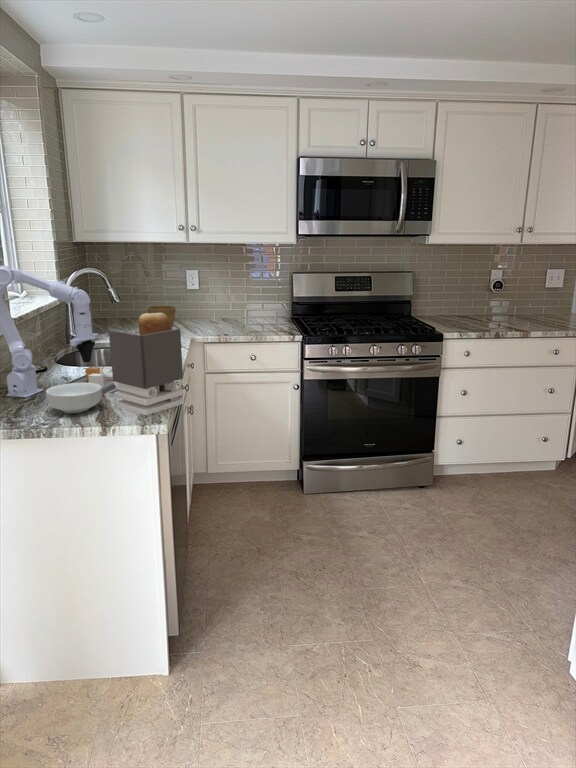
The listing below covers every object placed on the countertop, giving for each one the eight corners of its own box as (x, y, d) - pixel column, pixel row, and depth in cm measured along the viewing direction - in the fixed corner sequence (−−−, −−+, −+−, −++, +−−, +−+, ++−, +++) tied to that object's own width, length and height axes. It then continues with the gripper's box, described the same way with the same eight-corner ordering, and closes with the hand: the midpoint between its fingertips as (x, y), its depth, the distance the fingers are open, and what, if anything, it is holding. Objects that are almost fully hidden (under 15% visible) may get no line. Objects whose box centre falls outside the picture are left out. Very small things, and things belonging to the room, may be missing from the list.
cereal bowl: (110, 411, 179) (108, 390, 178) (55, 421, 170) (53, 398, 168) (94, 399, 193) (92, 379, 191) (42, 407, 183) (40, 386, 182)
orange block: (96, 381, 208) (95, 369, 207) (86, 380, 209) (85, 368, 208) (100, 379, 211) (99, 367, 210) (91, 378, 212) (90, 367, 211)
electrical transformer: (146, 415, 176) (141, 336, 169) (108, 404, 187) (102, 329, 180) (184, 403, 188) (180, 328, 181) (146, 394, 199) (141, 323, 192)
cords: (112, 393, 199) (112, 390, 198) (56, 389, 204) (56, 386, 203) (138, 380, 217) (138, 377, 216) (86, 377, 222) (86, 374, 221)
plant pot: (151, 340, 297) (149, 309, 293) (147, 335, 310) (145, 306, 306) (179, 338, 302) (178, 308, 298) (174, 333, 315) (172, 304, 311)
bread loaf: (156, 369, 233) (152, 309, 227) (182, 373, 227) (179, 311, 221) (133, 377, 221) (128, 313, 215) (160, 381, 215) (156, 315, 209)
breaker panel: (97, 397, 195) (95, 379, 193) (56, 394, 198) (54, 376, 197) (127, 381, 214) (126, 365, 213) (89, 379, 218) (87, 363, 216)
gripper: (81, 328, 194) (85, 366, 197) (104, 321, 207) (107, 358, 211) (63, 327, 195) (67, 365, 199) (87, 321, 209) (90, 357, 212)
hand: (86, 361), depth 205 cm, fingers closed
